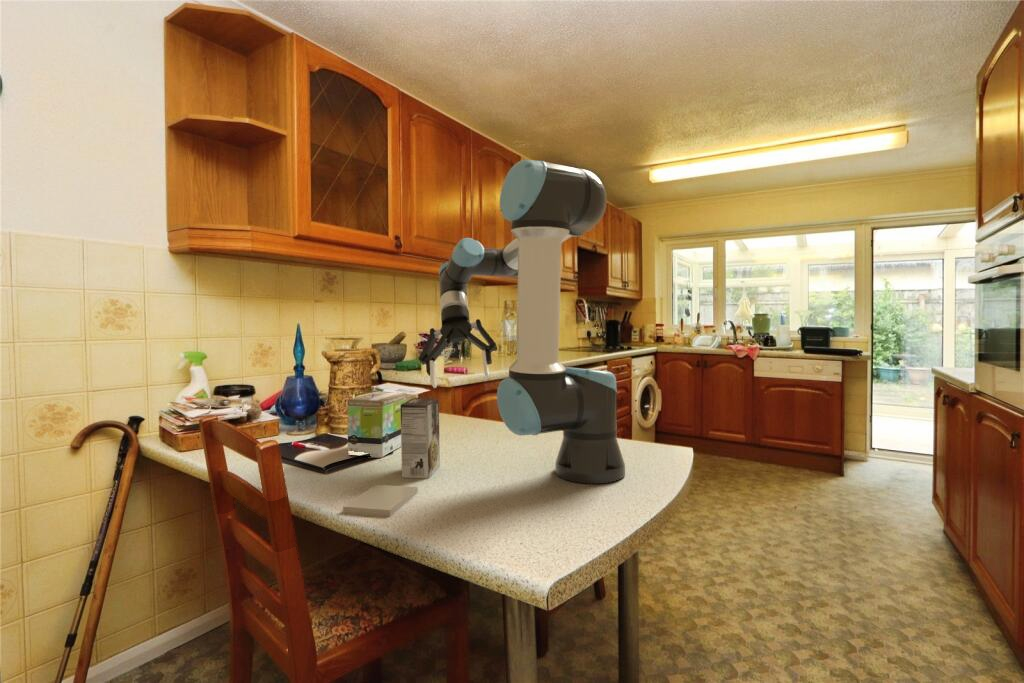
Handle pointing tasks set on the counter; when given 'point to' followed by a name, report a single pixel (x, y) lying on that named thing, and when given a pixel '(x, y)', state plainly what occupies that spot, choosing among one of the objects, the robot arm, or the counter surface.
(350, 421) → the tea box
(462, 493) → the counter surface
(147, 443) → the counter surface
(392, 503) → the grey flat piece
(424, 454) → the coffee box
